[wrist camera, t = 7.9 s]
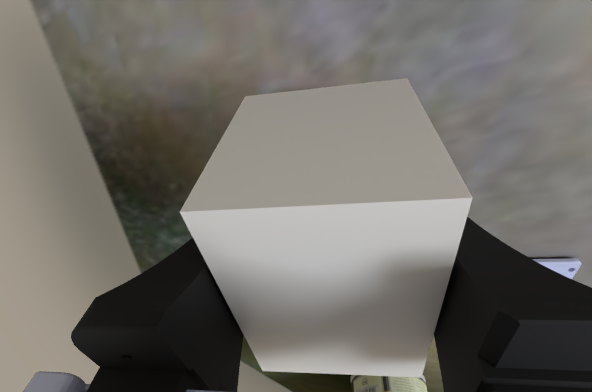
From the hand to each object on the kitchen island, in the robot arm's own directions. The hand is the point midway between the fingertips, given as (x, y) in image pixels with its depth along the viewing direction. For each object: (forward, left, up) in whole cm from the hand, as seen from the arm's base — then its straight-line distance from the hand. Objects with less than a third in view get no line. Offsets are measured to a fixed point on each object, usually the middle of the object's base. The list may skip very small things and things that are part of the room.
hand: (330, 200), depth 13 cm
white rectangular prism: (0, 0, -2) cm, 2 cm away
